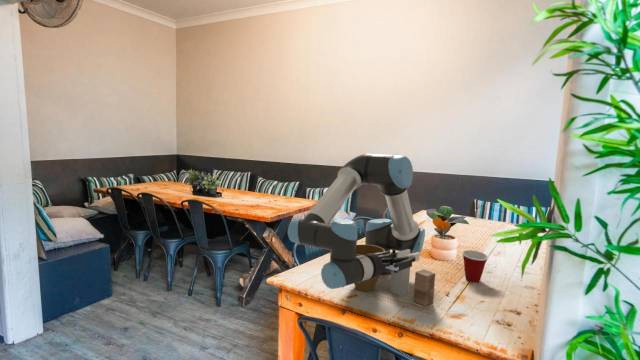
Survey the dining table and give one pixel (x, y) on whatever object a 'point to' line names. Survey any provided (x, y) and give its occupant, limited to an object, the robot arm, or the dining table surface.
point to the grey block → (400, 282)
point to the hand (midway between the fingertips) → (413, 254)
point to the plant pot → (363, 250)
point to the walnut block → (424, 288)
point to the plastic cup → (474, 265)
